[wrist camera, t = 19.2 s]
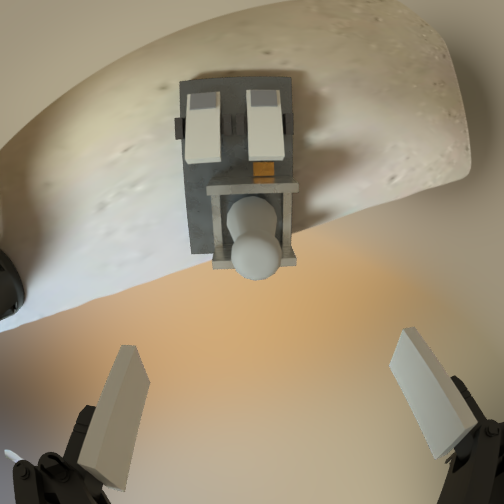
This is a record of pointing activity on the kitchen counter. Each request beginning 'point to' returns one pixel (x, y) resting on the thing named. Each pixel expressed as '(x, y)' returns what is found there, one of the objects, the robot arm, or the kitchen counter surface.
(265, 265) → the salt shaker
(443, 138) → the kitchen counter surface
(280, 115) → the rocker
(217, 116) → the rocker
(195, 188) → the grey mechanical fixture
